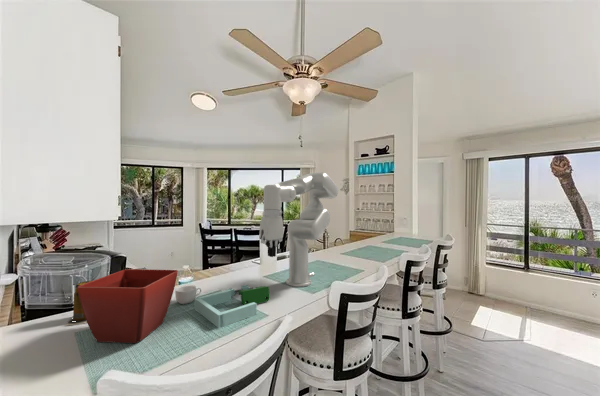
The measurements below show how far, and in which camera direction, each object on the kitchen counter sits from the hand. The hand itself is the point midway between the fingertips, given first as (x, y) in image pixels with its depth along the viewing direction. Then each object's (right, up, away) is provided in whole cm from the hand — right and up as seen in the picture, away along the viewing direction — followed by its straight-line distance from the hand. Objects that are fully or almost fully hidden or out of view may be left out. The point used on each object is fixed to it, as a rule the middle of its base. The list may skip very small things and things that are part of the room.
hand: (271, 256), depth 111 cm
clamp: (-7, -17, -7) cm, 20 cm away
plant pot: (-40, -17, -31) cm, 53 cm away
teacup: (-33, -17, -7) cm, 38 cm away
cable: (-18, -17, -2) cm, 25 cm away
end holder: (-15, -17, -16) cm, 28 cm away
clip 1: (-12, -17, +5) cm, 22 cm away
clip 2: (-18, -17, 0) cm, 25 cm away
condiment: (-61, -16, -23) cm, 68 cm away
